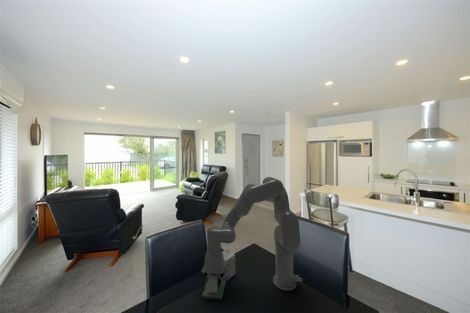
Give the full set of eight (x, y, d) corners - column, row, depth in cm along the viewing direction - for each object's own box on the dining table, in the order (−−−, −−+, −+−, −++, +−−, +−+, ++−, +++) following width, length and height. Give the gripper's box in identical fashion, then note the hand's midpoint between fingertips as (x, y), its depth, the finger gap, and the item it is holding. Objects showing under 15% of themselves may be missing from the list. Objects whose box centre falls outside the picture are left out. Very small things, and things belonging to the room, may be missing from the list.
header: (225, 282, 97) (225, 272, 97) (221, 299, 85) (221, 288, 85) (208, 280, 98) (208, 270, 98) (202, 297, 86) (201, 286, 86)
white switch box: (220, 279, 96) (220, 267, 96) (216, 292, 86) (216, 279, 86) (212, 279, 96) (212, 267, 96) (207, 292, 87) (207, 279, 87)
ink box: (226, 282, 97) (226, 258, 97) (215, 275, 102) (215, 253, 102) (235, 273, 103) (235, 251, 104) (225, 268, 109) (224, 247, 109)
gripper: (230, 247, 94) (230, 281, 94) (201, 246, 96) (201, 278, 96) (228, 255, 87) (228, 291, 86) (196, 253, 89) (196, 289, 88)
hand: (214, 284), depth 91 cm, fingers closed on white switch box, 4 cm apart
